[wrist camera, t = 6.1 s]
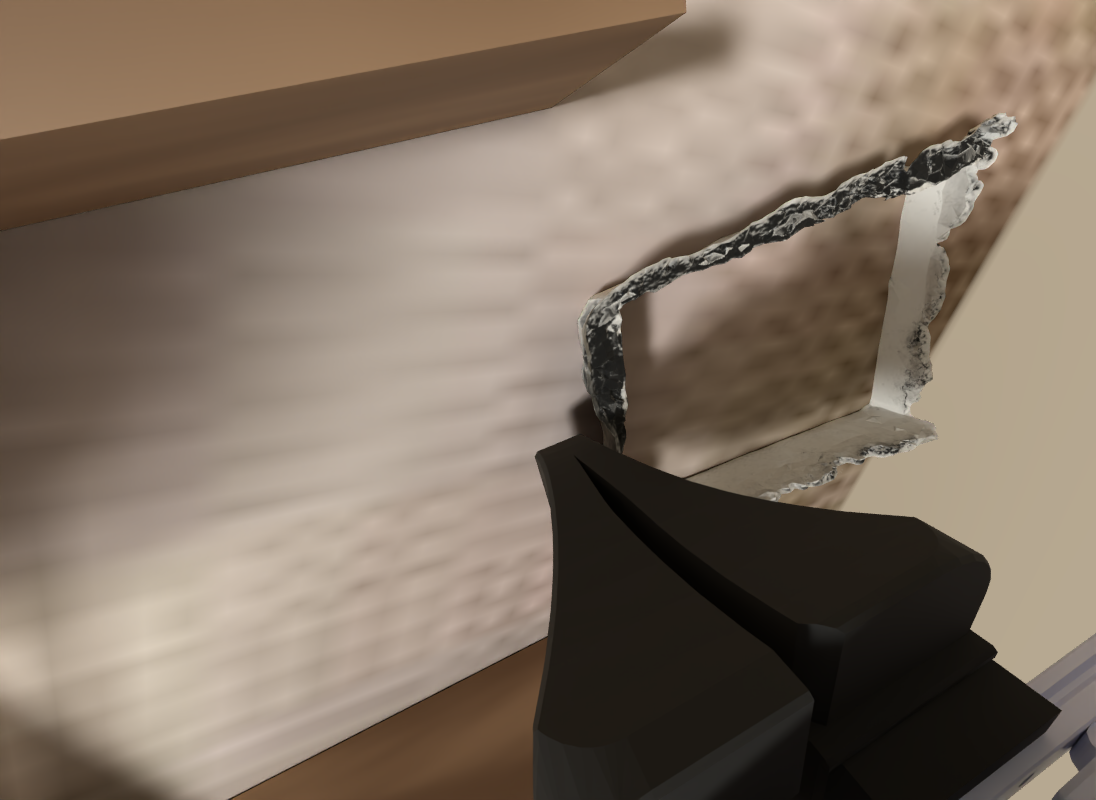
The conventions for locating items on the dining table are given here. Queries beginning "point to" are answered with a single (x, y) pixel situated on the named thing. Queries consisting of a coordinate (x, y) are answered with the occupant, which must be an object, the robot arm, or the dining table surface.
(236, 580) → the dining table surface
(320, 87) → the walnut u-shaped frame
